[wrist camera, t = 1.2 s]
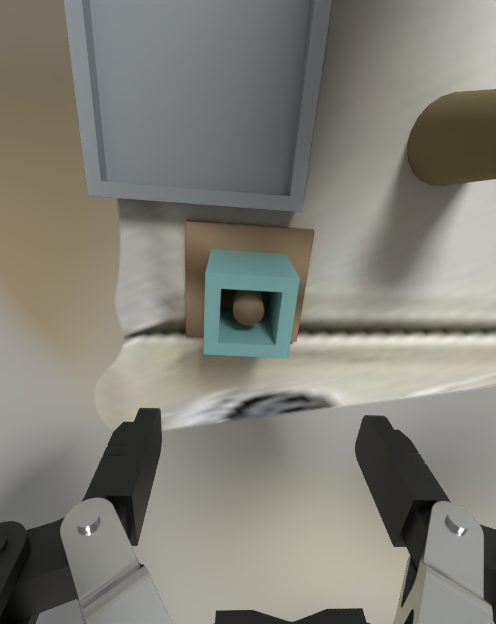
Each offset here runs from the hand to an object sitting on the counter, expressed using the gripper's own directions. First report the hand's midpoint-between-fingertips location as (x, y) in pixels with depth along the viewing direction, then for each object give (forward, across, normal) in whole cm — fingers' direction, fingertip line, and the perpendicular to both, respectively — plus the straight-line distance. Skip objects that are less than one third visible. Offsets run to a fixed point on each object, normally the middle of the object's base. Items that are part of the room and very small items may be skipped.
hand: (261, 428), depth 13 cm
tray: (+16, +4, -14) cm, 22 cm away
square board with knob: (+16, 0, 0) cm, 16 cm away
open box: (+16, 0, 0) cm, 16 cm away
